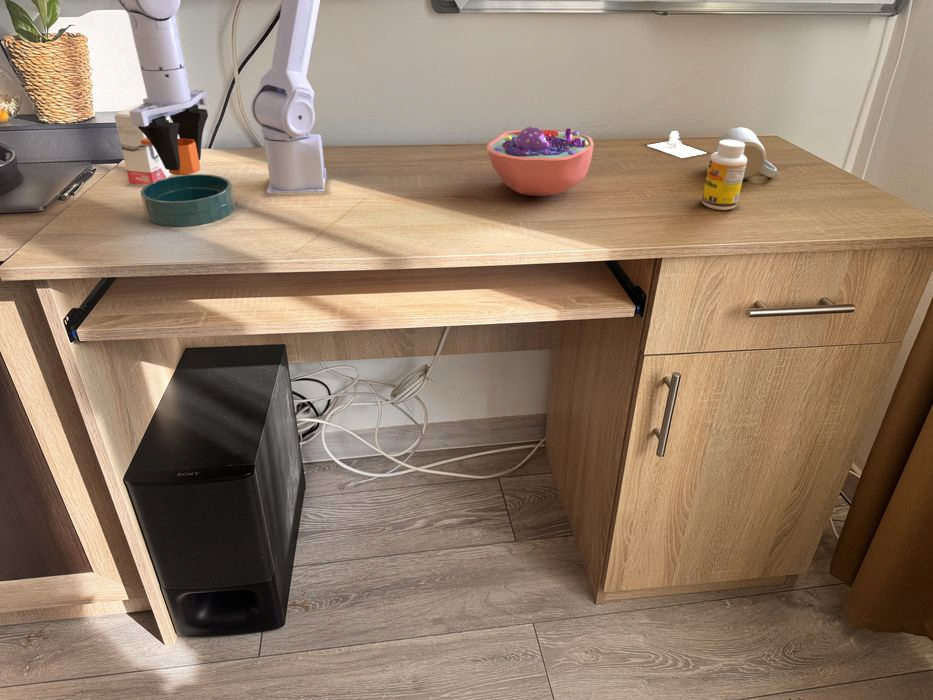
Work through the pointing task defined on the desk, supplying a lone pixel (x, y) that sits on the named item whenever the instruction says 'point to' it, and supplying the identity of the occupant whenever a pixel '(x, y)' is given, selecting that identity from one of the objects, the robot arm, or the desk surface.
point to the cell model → (541, 160)
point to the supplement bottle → (725, 175)
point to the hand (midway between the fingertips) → (183, 164)
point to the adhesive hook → (676, 147)
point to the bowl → (188, 200)
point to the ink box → (138, 152)
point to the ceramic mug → (750, 152)
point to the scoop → (184, 156)
